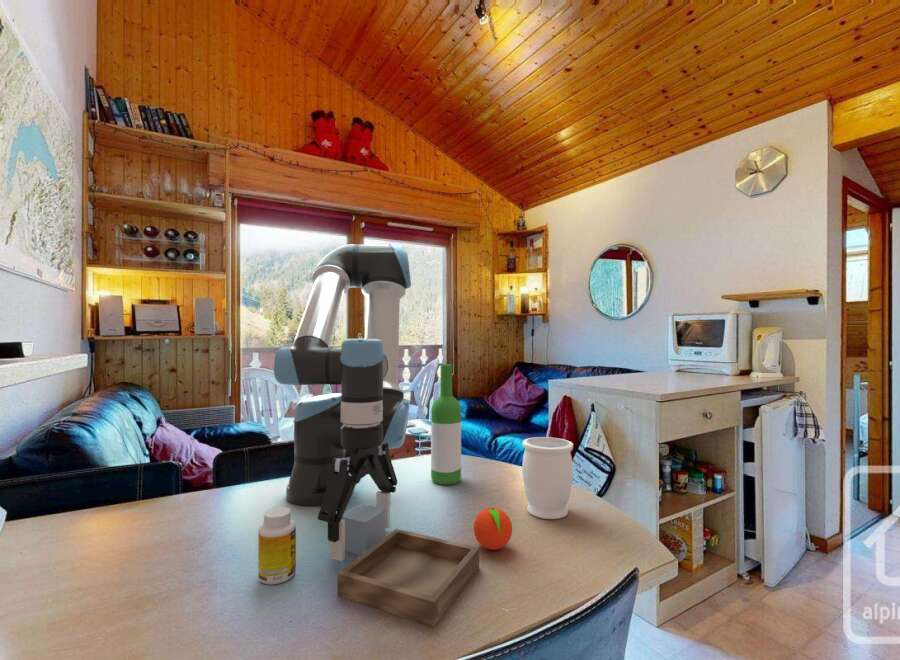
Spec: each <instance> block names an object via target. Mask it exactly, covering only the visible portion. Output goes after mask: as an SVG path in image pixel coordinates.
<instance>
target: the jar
mask: <svg viewBox="0 0 900 660" xmlns="http://www.w3.org/2000/svg"><path fill="white" fill-rule="evenodd" d="M522 447H523V448H524V453H523V456H522V466H521V469H522V470H521V471H522V481H523V485H524V487H523V488H524V492H525V497H526V499H527V501H528V505H527V507H526V510H527V512H528V513H529V514H530V515H531V516H534V517H536V518H539V519H544V520H559V519H563V518H565V517H566V516H567V515H568V513H569V511H568V508H567V504H568V502H569V499H570V496H571V491H572V485H573V478H574V464H573V458H572V454H571V452H572V451H573V449H574V443H573V442H572V441H569V440H567V439H563V438H558V437H550V436H535V437H529V438H526V439H523V440H522Z"/></svg>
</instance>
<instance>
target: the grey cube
mask: <svg viewBox="0 0 900 660" xmlns="http://www.w3.org/2000/svg"><path fill="white" fill-rule="evenodd" d="M342 519H343V520H345V552H347V553H350V554H354V555H358V556H361V555H362V554H364V553H365V552H366V551H368V550H369V549H370V548H372V547H373V546H374V545H376V544H377V543H378V542H379V541H381V540H382V539H383V538H385V537H386V528H385V509H381V508H376V507H375V506H371V505H366V504H362V503H358V504H357V505H354V506H353V507H351V508H349V509H347V510H345V512H344V514H343V517H342Z"/></svg>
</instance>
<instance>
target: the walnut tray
mask: <svg viewBox="0 0 900 660" xmlns="http://www.w3.org/2000/svg"><path fill="white" fill-rule="evenodd" d="M479 569H480V547H476V546H472V545H467V544H465V543H460V542H455V541H450V540H446V539H442V538H439V537H438V538H437V537H434V536H429V535H424V534H422V533H415V532H413V531H408V530H403V529H398V528H395V529H394V530H392V531H391V532H390V533H389V534H387V535H385V538H383V539H382V540H381V541H379V542H378V543H377V544H376V545H374V546H373V547H372V548H370V549H369V550H368V551H366V552H365V553H364V554H362V555H359V556H358V557H357V558H356V559H354V560H353V561H352V562H350V563H349V564H348V565H346V566H345V567H344V568H343V569H341V570H340V571H338V572H337V597H340V598H344V599H347V600H349V601H353V602H356V603H358V604H362V605H365V606H368V607H370V608H374V609H376V610H380V611H382V612H386V613H387V614H388V613H389V614H391V615H395V616H397V617H400V618H401V617H402V618H404V619H407V620H410V621H413V622H416V623H418V624H419V623H420V624H422V625H425V626H428V627H432V628H435V627H436V626H437V624H439V622H440V621H441V619H442V618H443V617H444V616H445V614H446V613H447V612H448V610H449V609H450V607H451V606H452V605H453V603H454V602H455V601H456V600H457V598H459V596H460V594H461V593H462V591H463V590H464V589H465V587H466V586H467V584H468V583H469V582H470V580H472V578H473V577H474V575H476V573H477V572H478V571H479Z"/></svg>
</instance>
